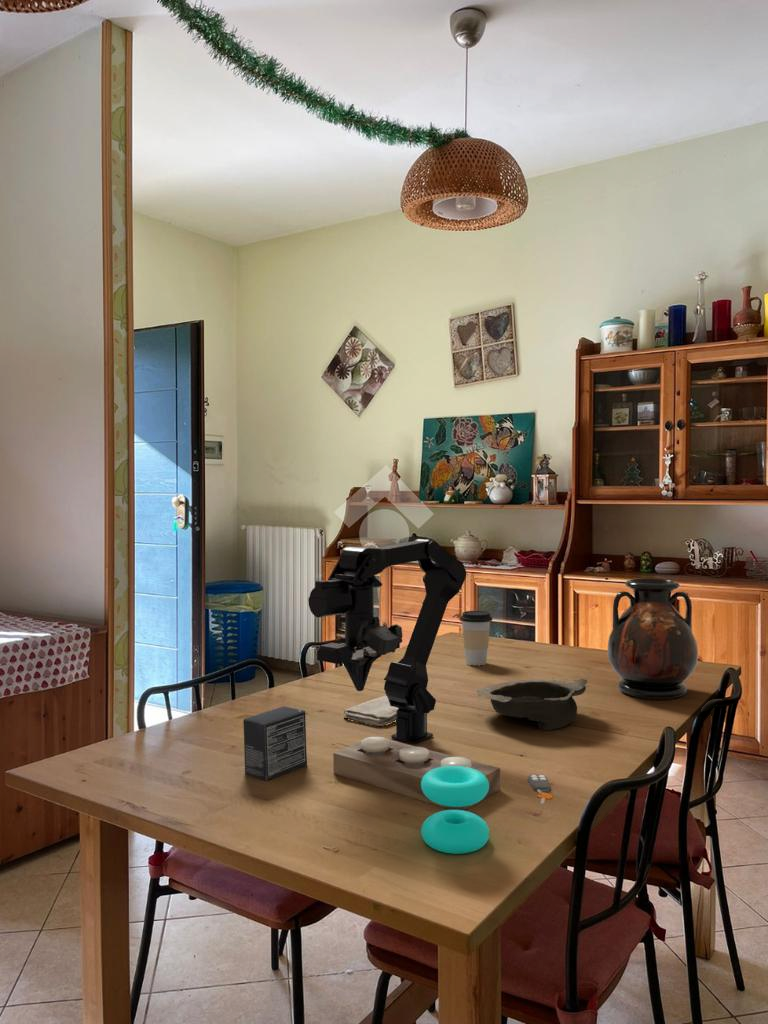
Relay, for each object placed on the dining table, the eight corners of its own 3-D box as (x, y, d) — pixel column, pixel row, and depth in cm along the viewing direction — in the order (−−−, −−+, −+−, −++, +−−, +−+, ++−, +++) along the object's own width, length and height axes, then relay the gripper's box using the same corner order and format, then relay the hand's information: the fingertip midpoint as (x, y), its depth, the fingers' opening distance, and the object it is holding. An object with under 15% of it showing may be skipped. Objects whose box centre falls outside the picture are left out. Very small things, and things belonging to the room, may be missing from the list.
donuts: (502, 774, 117) (458, 793, 110) (503, 841, 117) (459, 864, 110) (451, 758, 124) (406, 775, 117) (451, 821, 124) (407, 841, 117)
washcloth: (340, 721, 178) (340, 707, 178) (386, 703, 193) (386, 690, 193) (383, 730, 171) (382, 716, 171) (428, 711, 186) (427, 697, 186)
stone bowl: (594, 738, 163) (591, 693, 162) (473, 740, 168) (469, 697, 167) (588, 703, 187) (585, 664, 187) (482, 706, 192) (479, 668, 192)
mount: (375, 755, 154) (375, 736, 154) (500, 789, 136) (499, 768, 136) (333, 773, 145) (333, 752, 145) (461, 812, 127) (460, 789, 127)
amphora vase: (684, 682, 208) (684, 576, 207) (709, 704, 187) (710, 586, 186) (600, 680, 210) (600, 576, 209) (616, 703, 189) (616, 586, 188)
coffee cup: (455, 661, 235) (455, 611, 234) (484, 659, 237) (484, 609, 237) (468, 668, 226) (467, 616, 225) (498, 665, 228) (497, 614, 228)
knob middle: (411, 772, 144) (411, 744, 144) (434, 779, 141) (434, 750, 141) (393, 781, 140) (393, 752, 140) (417, 788, 137) (416, 758, 137)
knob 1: (373, 762, 150) (373, 735, 150) (395, 768, 147) (395, 740, 146) (355, 769, 146) (355, 742, 146) (377, 776, 143) (377, 747, 142)
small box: (284, 758, 153) (283, 704, 153) (308, 765, 149) (307, 710, 149) (242, 773, 145) (241, 717, 145) (266, 782, 141) (265, 723, 141)
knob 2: (452, 784, 139) (452, 754, 138) (477, 791, 135) (477, 761, 135) (435, 793, 134) (434, 763, 134) (460, 800, 131) (460, 769, 131)
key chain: (525, 781, 141) (525, 773, 141) (546, 781, 141) (546, 773, 141) (538, 811, 128) (538, 802, 128) (561, 811, 128) (561, 802, 128)
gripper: (358, 622, 142) (359, 708, 142) (420, 609, 156) (421, 687, 157) (314, 616, 149) (315, 698, 150) (377, 604, 163) (378, 679, 164)
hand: (359, 690), depth 155 cm, fingers closed
